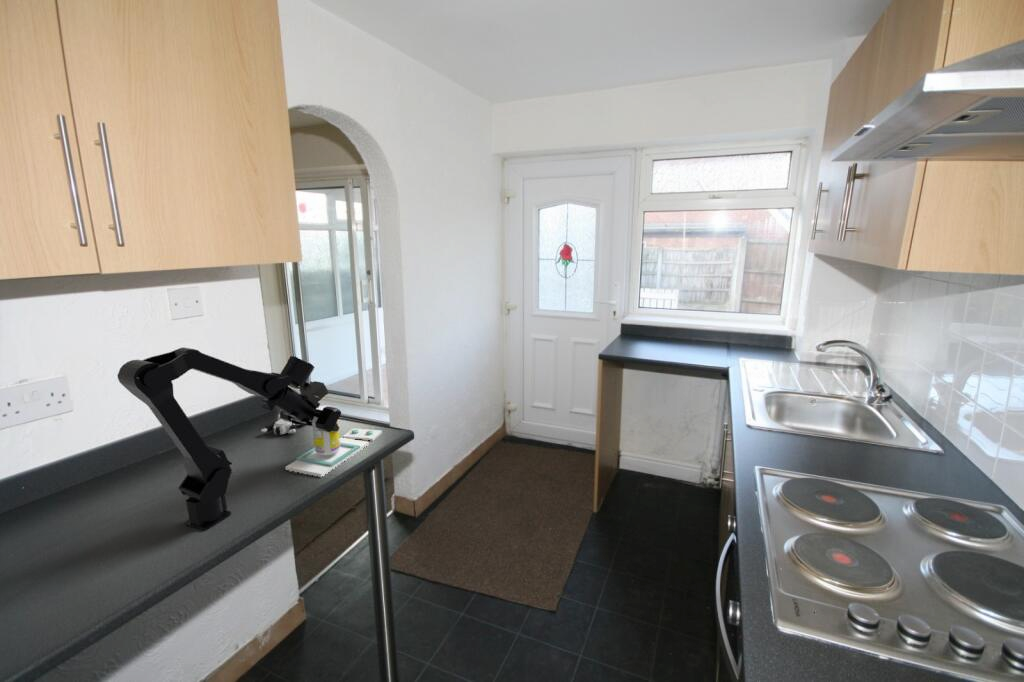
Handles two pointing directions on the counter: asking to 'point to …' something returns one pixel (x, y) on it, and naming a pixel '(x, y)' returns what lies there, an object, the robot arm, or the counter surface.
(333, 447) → the supplement bottle
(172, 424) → the robot arm
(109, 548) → the counter surface
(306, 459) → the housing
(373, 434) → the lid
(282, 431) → the robot toy
